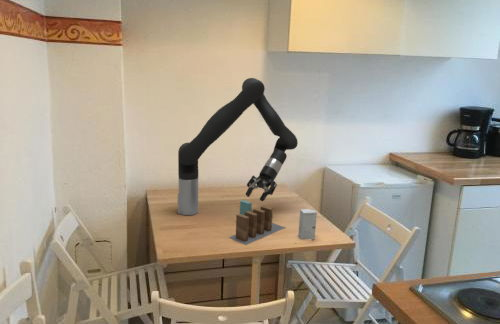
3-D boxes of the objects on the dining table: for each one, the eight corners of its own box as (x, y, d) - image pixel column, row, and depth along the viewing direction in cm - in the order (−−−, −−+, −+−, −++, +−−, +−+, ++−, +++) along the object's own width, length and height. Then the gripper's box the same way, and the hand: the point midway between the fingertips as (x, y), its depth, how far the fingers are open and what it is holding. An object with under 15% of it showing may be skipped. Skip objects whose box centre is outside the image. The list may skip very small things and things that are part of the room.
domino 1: (242, 220, 194) (243, 200, 192) (250, 223, 191) (251, 202, 188) (239, 221, 192) (240, 200, 190) (247, 224, 189) (248, 203, 187)
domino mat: (268, 222, 193) (268, 221, 193) (285, 228, 186) (285, 227, 186) (227, 238, 174) (228, 237, 174) (245, 246, 168) (245, 245, 167)
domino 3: (239, 236, 175) (239, 213, 173) (248, 240, 172) (248, 217, 170) (235, 238, 174) (236, 215, 171) (244, 241, 170) (245, 218, 168)
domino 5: (262, 227, 186) (263, 205, 184) (271, 230, 183) (272, 208, 180) (259, 228, 185) (260, 206, 182) (268, 231, 181) (269, 209, 179)
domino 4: (255, 230, 182) (255, 208, 180) (263, 233, 179) (264, 211, 177) (252, 231, 181) (252, 209, 179) (260, 234, 178) (261, 212, 175)
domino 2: (247, 233, 179) (248, 210, 176) (256, 236, 176) (257, 214, 173) (244, 234, 177) (244, 212, 175) (252, 238, 174) (253, 215, 172)
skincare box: (301, 240, 175) (303, 213, 172) (297, 236, 179) (299, 209, 176) (315, 239, 176) (317, 212, 173) (311, 235, 180) (313, 208, 177)
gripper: (256, 162, 201) (238, 190, 195) (279, 168, 192) (262, 197, 186) (262, 171, 206) (246, 198, 200) (286, 177, 197) (269, 206, 191)
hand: (254, 198), depth 193 cm, fingers open, 8 cm apart
